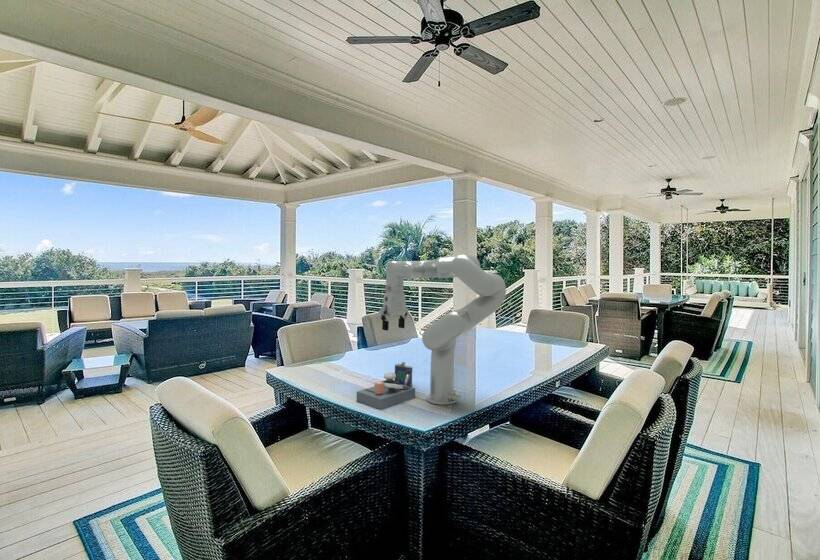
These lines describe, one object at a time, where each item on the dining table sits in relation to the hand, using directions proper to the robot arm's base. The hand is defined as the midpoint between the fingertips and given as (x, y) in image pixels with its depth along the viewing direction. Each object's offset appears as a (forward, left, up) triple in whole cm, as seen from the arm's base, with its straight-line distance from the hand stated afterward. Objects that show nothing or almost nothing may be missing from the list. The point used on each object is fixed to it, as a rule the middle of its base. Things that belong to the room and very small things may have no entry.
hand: (393, 328), depth 182 cm
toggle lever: (-10, +4, -22) cm, 25 cm away
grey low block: (-6, +10, -27) cm, 30 cm away
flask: (+3, -10, -28) cm, 30 cm away
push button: (-2, +4, -22) cm, 22 cm away
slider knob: (-8, +16, -23) cm, 29 cm away
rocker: (-9, +10, -21) cm, 25 cm away
